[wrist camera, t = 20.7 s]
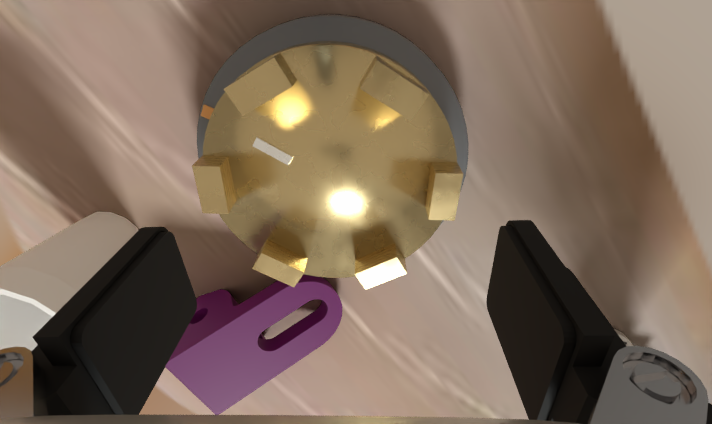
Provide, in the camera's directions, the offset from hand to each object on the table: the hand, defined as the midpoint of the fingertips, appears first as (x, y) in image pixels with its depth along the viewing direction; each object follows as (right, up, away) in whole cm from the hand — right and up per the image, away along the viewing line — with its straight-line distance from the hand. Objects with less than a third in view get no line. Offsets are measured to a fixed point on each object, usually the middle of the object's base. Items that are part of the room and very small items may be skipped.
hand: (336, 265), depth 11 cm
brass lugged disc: (-1, +5, +21) cm, 21 cm away
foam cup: (-26, -1, +29) cm, 39 cm away
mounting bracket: (-10, -10, +34) cm, 37 cm away
